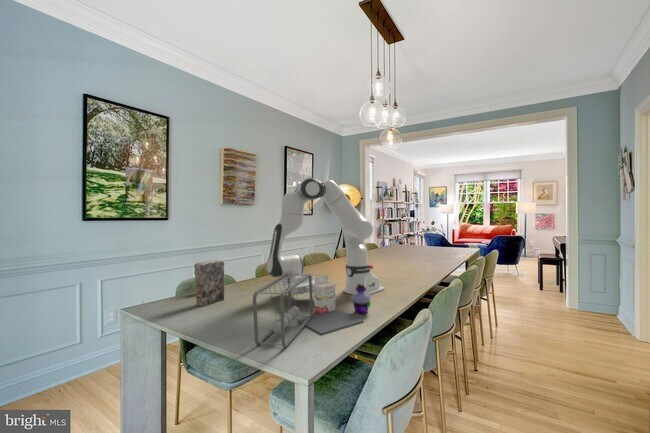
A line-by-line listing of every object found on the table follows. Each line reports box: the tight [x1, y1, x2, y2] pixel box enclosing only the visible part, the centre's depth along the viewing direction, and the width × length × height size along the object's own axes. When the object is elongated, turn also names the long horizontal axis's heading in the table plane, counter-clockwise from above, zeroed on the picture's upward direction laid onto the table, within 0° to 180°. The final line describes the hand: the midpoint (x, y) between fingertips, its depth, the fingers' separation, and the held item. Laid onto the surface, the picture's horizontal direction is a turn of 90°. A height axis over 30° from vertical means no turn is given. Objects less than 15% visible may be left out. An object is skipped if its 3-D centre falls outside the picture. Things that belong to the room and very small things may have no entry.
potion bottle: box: [350, 284, 372, 315], centre depth 131 cm, size 9×9×12 cm
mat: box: [297, 309, 365, 336], centre depth 120 cm, size 20×16×1 cm
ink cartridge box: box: [313, 275, 336, 315], centre depth 133 cm, size 9×5×15 cm, turn 134°
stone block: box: [193, 259, 225, 307], centre depth 149 cm, size 13×7×20 cm, turn 153°
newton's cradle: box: [252, 273, 314, 348], centre depth 112 cm, size 30×10×18 cm, turn 165°
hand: (315, 290), depth 139 cm, fingers closed
